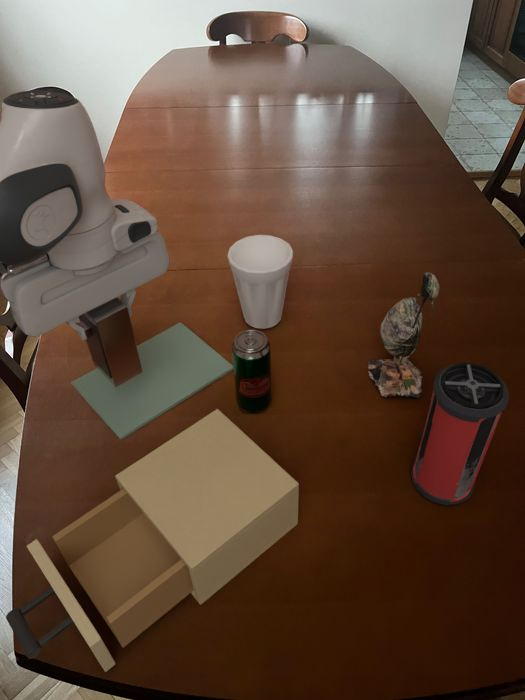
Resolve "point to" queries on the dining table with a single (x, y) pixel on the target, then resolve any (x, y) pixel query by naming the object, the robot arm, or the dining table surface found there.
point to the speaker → (458, 431)
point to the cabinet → (213, 499)
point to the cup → (261, 277)
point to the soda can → (252, 370)
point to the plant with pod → (402, 344)
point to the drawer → (109, 576)
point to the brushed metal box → (113, 342)
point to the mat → (154, 380)
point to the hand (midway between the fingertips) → (106, 325)
